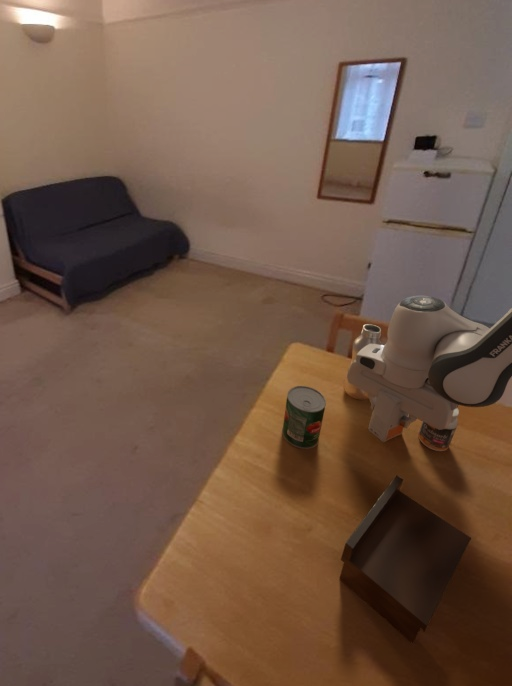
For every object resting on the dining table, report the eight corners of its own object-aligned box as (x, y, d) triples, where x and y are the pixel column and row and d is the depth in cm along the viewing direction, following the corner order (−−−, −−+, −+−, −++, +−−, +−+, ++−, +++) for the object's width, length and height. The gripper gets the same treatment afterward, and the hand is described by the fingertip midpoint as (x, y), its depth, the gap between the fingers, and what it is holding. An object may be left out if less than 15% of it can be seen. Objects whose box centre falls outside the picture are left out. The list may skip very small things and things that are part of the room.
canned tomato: (281, 418, 96) (286, 382, 91) (317, 424, 94) (324, 388, 89) (282, 445, 89) (287, 408, 84) (320, 452, 87) (328, 414, 82)
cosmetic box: (383, 443, 89) (396, 402, 83) (367, 429, 92) (378, 389, 87) (402, 434, 91) (416, 393, 85) (386, 420, 94) (397, 381, 89)
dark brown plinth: (460, 559, 67) (477, 526, 63) (416, 647, 57) (433, 614, 53) (385, 507, 76) (396, 474, 72) (336, 576, 66) (345, 542, 62)
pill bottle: (414, 442, 88) (426, 408, 84) (421, 427, 92) (432, 394, 88) (445, 457, 85) (459, 422, 81) (450, 440, 89) (464, 406, 84)
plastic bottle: (345, 381, 107) (359, 317, 98) (373, 391, 103) (390, 326, 94) (339, 396, 102) (353, 330, 93) (368, 407, 98) (386, 339, 90)
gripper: (468, 386, 78) (448, 438, 84) (362, 340, 92) (351, 387, 98) (456, 402, 74) (436, 454, 80) (348, 351, 89) (338, 399, 95)
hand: (389, 417), depth 89 cm, fingers closed on cosmetic box, 5 cm apart
